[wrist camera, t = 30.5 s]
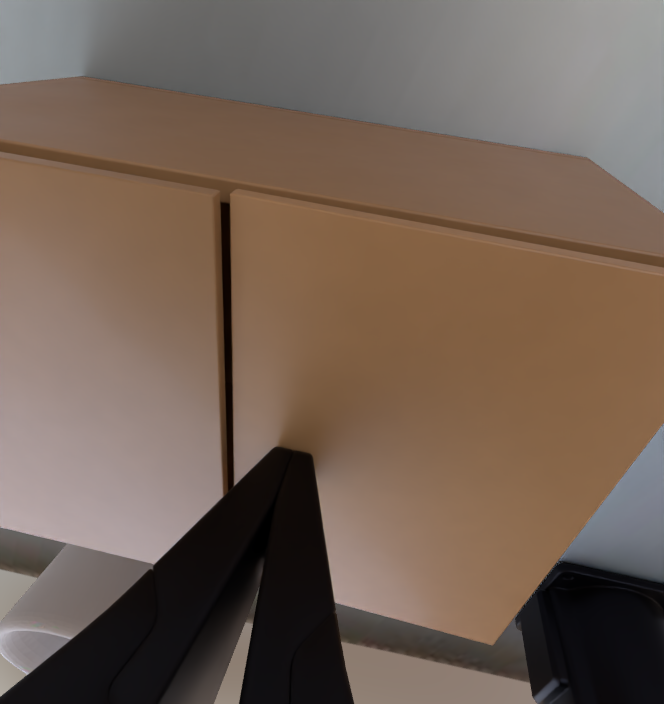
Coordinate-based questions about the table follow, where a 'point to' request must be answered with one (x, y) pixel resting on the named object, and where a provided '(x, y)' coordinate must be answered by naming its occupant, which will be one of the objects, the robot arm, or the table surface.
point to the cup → (65, 603)
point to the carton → (202, 278)
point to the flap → (439, 397)
